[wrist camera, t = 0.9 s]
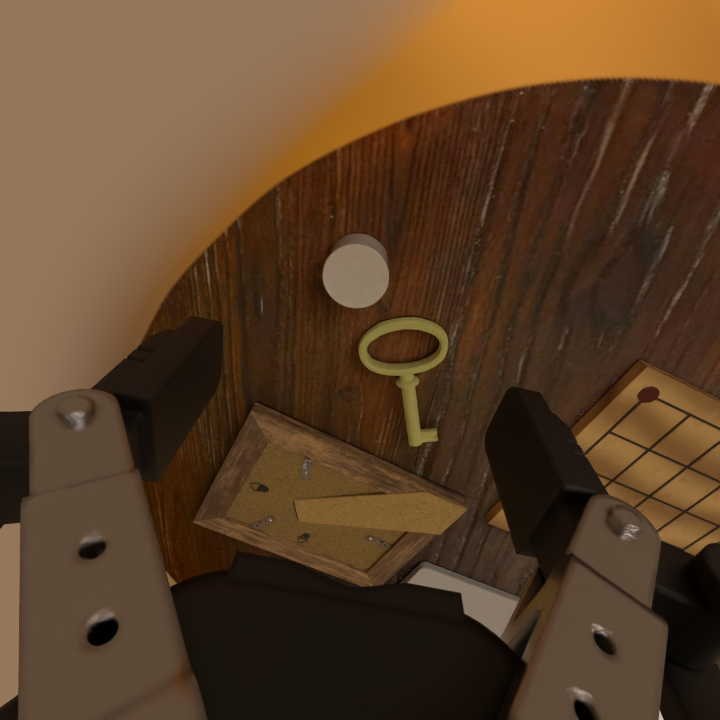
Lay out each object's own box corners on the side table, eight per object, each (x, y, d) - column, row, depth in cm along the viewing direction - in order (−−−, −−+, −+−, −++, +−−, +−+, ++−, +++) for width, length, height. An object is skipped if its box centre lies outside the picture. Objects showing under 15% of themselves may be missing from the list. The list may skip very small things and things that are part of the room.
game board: (639, 358, 33) (648, 367, 32) (830, 453, 36) (844, 464, 35) (485, 514, 43) (487, 524, 42) (644, 575, 47) (650, 586, 46)
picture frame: (464, 495, 42) (256, 400, 37) (467, 509, 40) (250, 412, 36) (375, 579, 51) (198, 511, 46) (375, 593, 49) (191, 524, 45)
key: (411, 437, 38) (412, 452, 37) (349, 334, 33) (347, 346, 31) (483, 411, 36) (488, 426, 34) (430, 297, 31) (432, 308, 29)
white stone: (342, 222, 29) (338, 232, 26) (399, 250, 29) (401, 262, 27) (318, 277, 31) (312, 292, 28) (372, 302, 32) (371, 318, 29)
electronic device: (348, 629, 58) (347, 645, 56) (422, 559, 48) (423, 575, 46) (510, 683, 63) (513, 698, 61) (605, 629, 53) (612, 646, 52)
